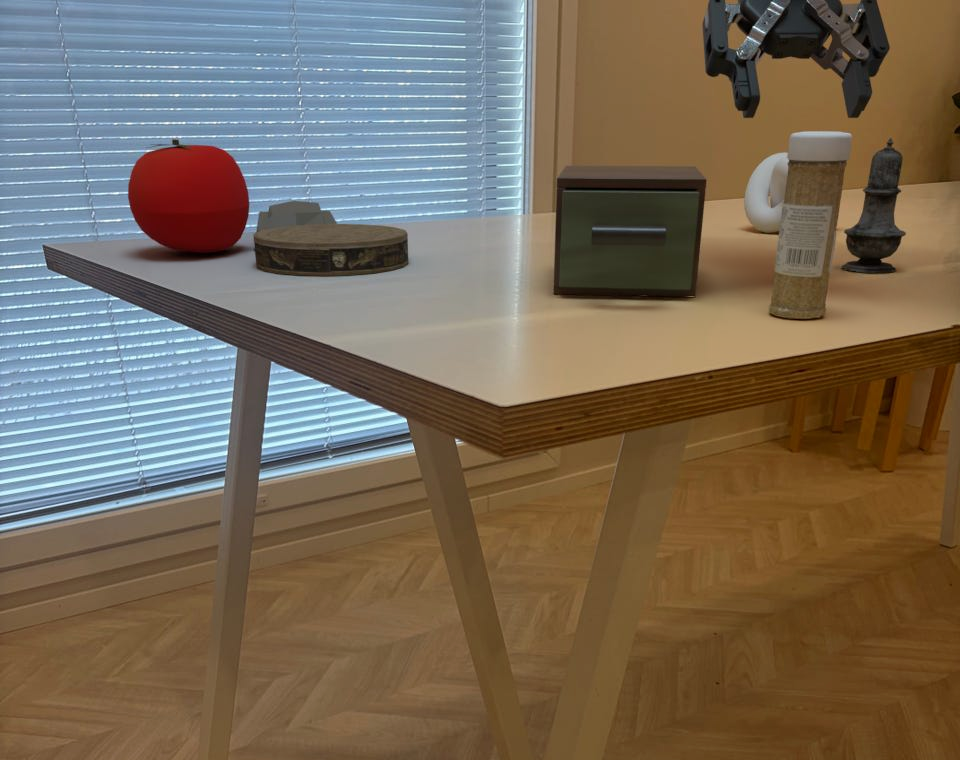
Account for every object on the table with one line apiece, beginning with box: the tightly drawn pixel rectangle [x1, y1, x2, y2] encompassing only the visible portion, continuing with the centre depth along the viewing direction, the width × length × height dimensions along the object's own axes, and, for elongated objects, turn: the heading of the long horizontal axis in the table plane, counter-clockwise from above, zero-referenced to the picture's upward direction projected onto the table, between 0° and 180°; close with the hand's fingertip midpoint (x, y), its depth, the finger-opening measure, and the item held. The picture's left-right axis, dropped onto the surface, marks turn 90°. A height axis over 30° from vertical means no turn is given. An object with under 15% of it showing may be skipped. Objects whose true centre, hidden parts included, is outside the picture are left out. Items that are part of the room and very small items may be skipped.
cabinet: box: [552, 165, 708, 297], centre depth 96 cm, size 15×13×10 cm
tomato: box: [127, 138, 250, 254], centre depth 112 cm, size 12×14×12 cm
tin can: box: [253, 223, 409, 277], centre depth 107 cm, size 16×16×3 cm
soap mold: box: [253, 200, 338, 252], centre depth 125 cm, size 10×20×4 cm, turn 10°
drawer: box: [559, 188, 700, 290], centre depth 92 cm, size 18×11×8 cm, turn 173°
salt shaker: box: [841, 137, 907, 274], centre depth 102 cm, size 6×6×12 cm
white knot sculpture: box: [743, 152, 789, 234], centre depth 129 cm, size 11×12×9 cm
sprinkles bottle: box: [768, 130, 853, 320], centre depth 81 cm, size 5×5×14 cm
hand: (805, 110), depth 81 cm, fingers open, 8 cm apart
